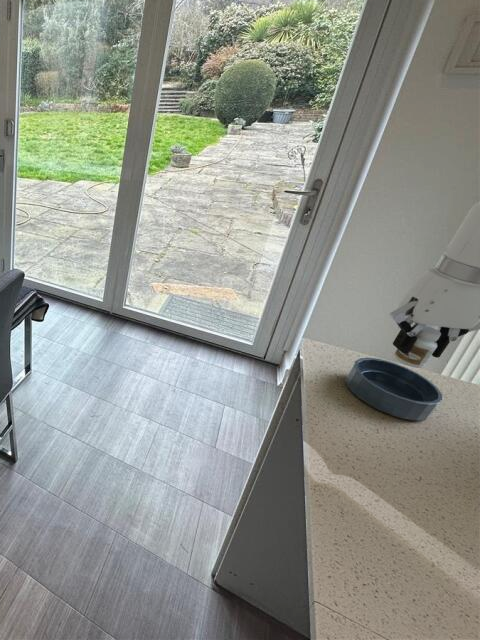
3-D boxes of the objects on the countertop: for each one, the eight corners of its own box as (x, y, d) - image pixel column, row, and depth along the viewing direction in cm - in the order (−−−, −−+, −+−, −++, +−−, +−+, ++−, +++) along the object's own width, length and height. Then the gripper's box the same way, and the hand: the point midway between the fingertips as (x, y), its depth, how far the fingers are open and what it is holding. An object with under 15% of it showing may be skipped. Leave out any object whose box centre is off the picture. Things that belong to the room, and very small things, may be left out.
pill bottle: (388, 356, 83) (408, 325, 79) (400, 351, 84) (419, 320, 81) (416, 370, 79) (438, 339, 76) (428, 365, 81) (449, 333, 77)
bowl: (397, 380, 91) (409, 362, 88) (447, 427, 79) (462, 409, 77) (331, 371, 93) (340, 353, 91) (370, 416, 81) (382, 397, 79)
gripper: (504, 265, 74) (448, 345, 82) (397, 255, 77) (354, 333, 85) (547, 286, 68) (482, 370, 76) (429, 274, 70) (379, 357, 79)
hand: (415, 350), depth 80 cm, fingers closed on pill bottle, 4 cm apart
